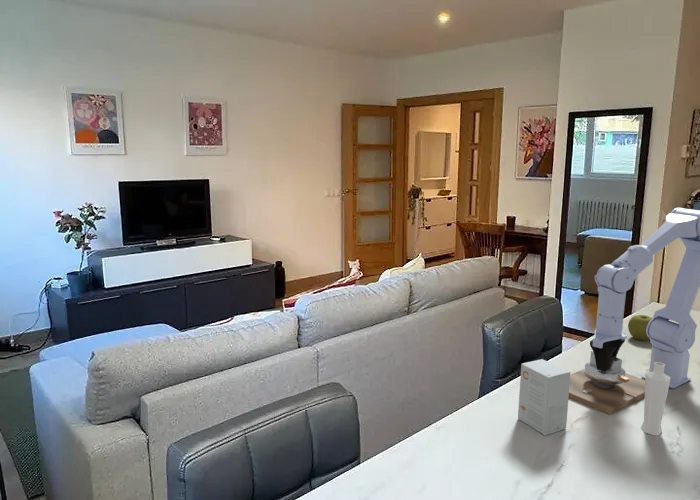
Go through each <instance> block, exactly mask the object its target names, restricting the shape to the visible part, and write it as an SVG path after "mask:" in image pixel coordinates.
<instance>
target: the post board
mask: <svg viewBox="0 0 700 500" xmlns="http://www.w3.org/2000/svg"><path fill="white" fill-rule="evenodd" d="M584 371H585V368H584V369H580V370H578V371H576V372H573V373H570V384H569V397H568V398H571V399H572V400H574V401H577V402H579V403H581V404H584V405H586V406H588V407H591V408H593V409H596V410H598V411H600V412H602V413H605V414H607V415H611V414H613V413H615V412H617V411H618V410H621V409H623V408H624V407H626V406H629V405H631V404H633V403H636V402H637V401H638V400H639V401H640V400H641V399H643V398H645V379H644V378H642V377H637V376H634V375H632V374H629V373H627V372H625V377H627V378H629V382H626V383H625V382H623V383H621V384H603V383H599V382H596V381H593V380H591V379H589V378H587V377H586V376H585V374H584Z"/></svg>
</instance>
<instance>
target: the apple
mask: <svg viewBox="0 0 700 500" xmlns="http://www.w3.org/2000/svg"><path fill="white" fill-rule="evenodd" d="M652 318H653V317H652V316H649V315H645V314H636V315H634V316H632V317H631V318H630V319H629V321H628V323H627V329H628V332H629V334H630V336H631V337H632V338H633V339H635V340H638V341H648V340H650V338H649V337H648V336H647V333H646V328H647V325H648V323H649V321H650V320H651V319H652Z"/></svg>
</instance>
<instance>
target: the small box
mask: <svg viewBox="0 0 700 500" xmlns="http://www.w3.org/2000/svg"><path fill="white" fill-rule="evenodd" d="M520 365H521V366H520V378H519V379H520V380H519V395H518V396H519V397H518V411H517V419H518V420H520V421H521V422H523V423H525V424H526V425H528V426H529V427H531V428H532V429H534V430H536V431H538V432H539V433H540V434H542V435H544V436H547V435H550V434H554V433H556V432H560V431H562V430H566V429H567V421H568V420H567V419H568V410H569V408H568V407H569V398H570V397H569V384H570V375H571V372H570V371H568V370H566V369H564V368H562V367H560V366H557V365H556V364H554V363H550V362H549V361H548V360H545V359H543V358H541V359H536V360H532V361H527V362H523V363H521V364H520Z"/></svg>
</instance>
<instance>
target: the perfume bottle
mask: <svg viewBox="0 0 700 500" xmlns="http://www.w3.org/2000/svg"><path fill="white" fill-rule="evenodd" d="M664 367H665V364H663V363H661V362H654V370H653V372H649V371H648V372H645V373H644V374H645V379H644V380H645V397H644V403H643V404H644V405H643V406H644V407H643V409H644V410H643V411H644V413H643V422H642V424H641V425H640V428H641V430H642V431H643V433H645V434H649V435H653V436H660V435H661V434H662V432H663V428H662V421H663V416H664V411H665V406H666V401H667V397H668V392H669V388H670V387H669V384H670V379H671V377H669V376H667V375H666V374H664Z"/></svg>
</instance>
